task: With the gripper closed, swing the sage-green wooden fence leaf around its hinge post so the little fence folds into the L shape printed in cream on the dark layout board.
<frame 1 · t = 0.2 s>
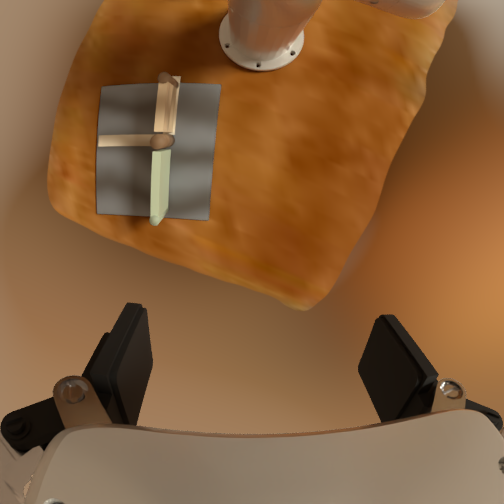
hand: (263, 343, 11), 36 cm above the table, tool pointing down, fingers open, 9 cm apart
fence leaf: (160, 185, 40), point 4 cm above the table, hinge at 0.0°
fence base: (168, 140, 41), on the table
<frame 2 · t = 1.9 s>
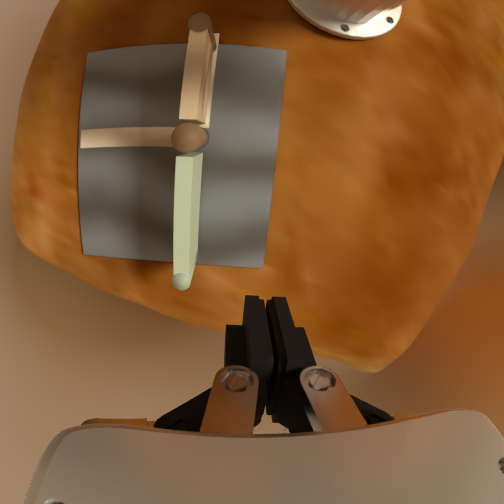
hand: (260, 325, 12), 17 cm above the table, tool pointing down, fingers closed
fence leaf: (187, 216, 23), point 4 cm above the table, hinge at 0.0°
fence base: (198, 137, 25), on the table
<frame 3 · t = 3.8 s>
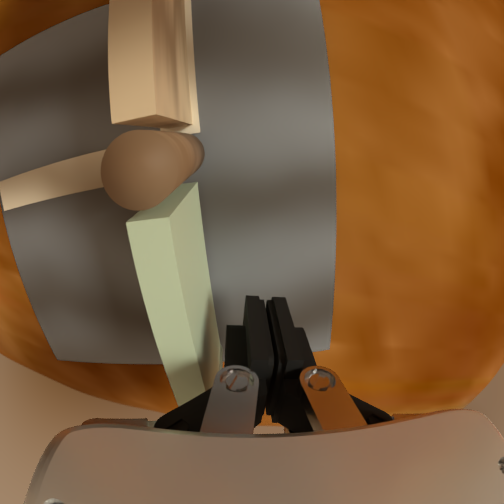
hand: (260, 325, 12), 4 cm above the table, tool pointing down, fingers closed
fence leaf: (191, 318, 12), point 4 cm above the table, hinge at -0.6°, touching gripper
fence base: (184, 153, 13), on the table
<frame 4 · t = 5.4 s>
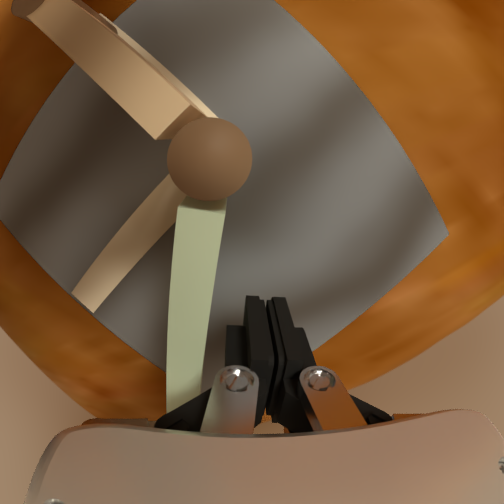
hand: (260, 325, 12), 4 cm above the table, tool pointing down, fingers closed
fence leaf: (193, 313, 12), point 4 cm above the table, hinge at -53.6°, touching gripper
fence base: (221, 148, 13), on the table
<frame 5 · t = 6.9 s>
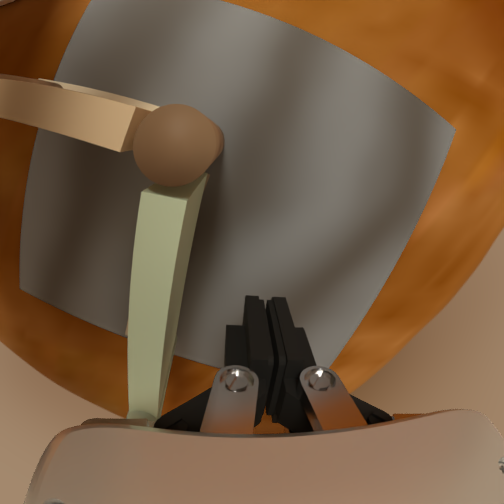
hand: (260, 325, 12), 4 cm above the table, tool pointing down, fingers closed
fence leaf: (161, 303, 11), point 4 cm above the table, hinge at -82.0°
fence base: (203, 141, 13), on the table
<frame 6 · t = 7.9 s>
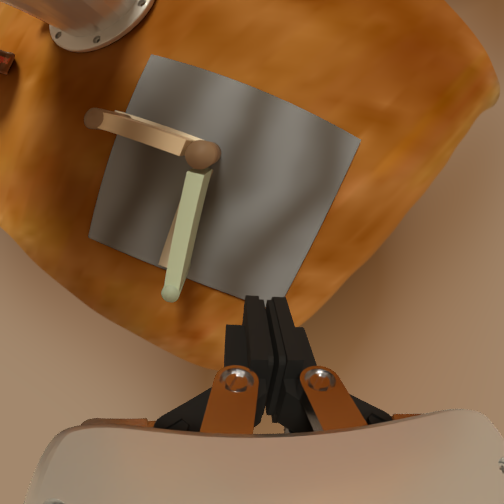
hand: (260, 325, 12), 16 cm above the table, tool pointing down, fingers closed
fence leaf: (186, 230, 24), point 4 cm above the table, hinge at -82.1°
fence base: (210, 153, 25), on the table
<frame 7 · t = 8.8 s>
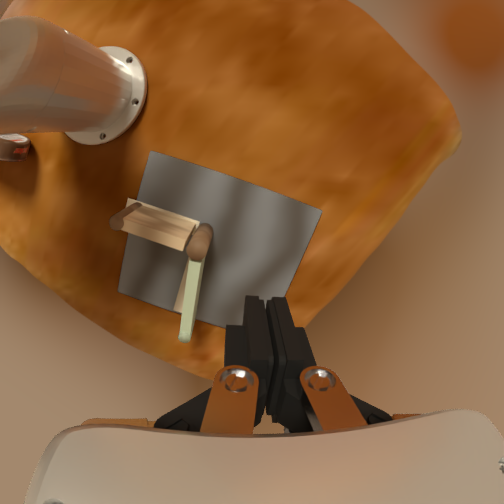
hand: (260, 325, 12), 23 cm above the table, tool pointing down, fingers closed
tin: (9, 136, 29), on the table
fence leaf: (192, 292, 33), point 4 cm above the table, hinge at -82.1°
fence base: (205, 230, 35), on the table
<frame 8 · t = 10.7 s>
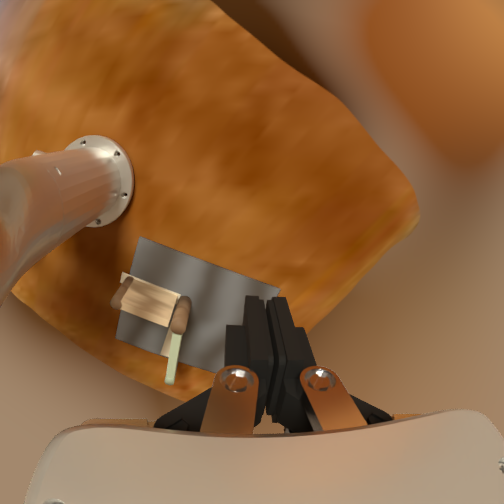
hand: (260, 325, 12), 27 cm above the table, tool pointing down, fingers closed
fence leaf: (175, 348, 41), point 4 cm above the table, hinge at -82.1°
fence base: (185, 300, 42), on the table
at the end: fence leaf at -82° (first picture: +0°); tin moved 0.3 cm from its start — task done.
